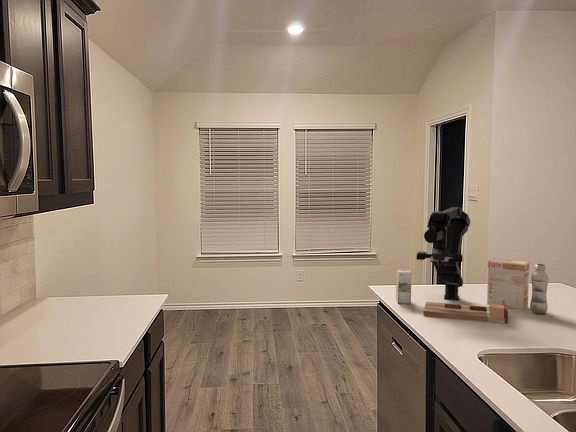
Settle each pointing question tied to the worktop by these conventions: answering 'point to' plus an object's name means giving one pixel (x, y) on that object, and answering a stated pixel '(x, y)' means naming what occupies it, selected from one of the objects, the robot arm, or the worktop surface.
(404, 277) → the syrup box
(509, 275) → the coffeecake box
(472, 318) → the board
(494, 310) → the coral block
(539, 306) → the plastic bottle
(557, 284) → the worktop surface
